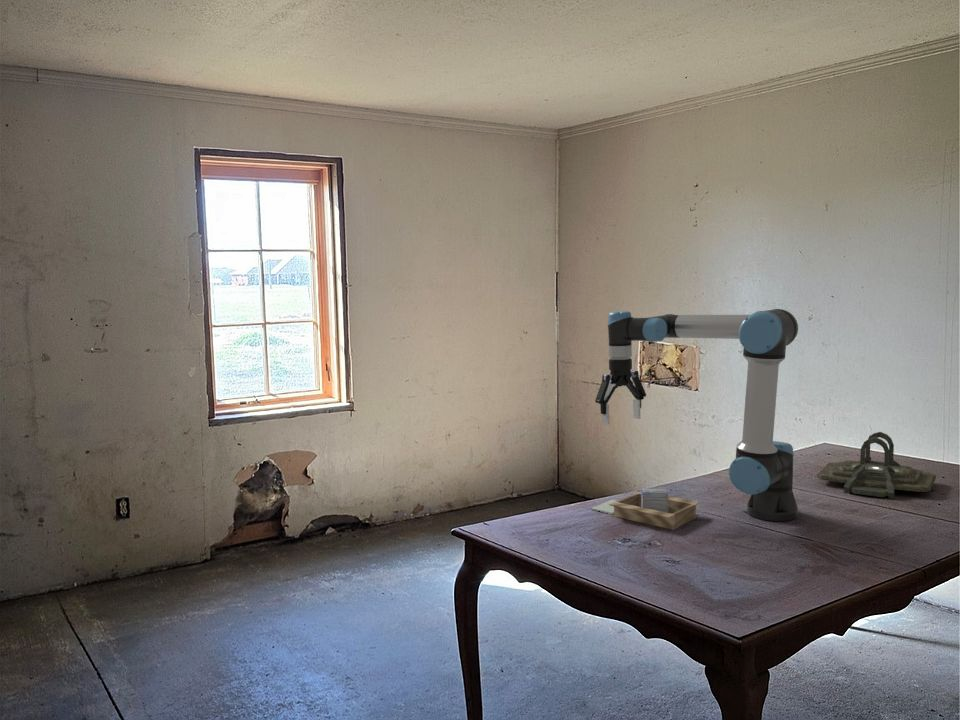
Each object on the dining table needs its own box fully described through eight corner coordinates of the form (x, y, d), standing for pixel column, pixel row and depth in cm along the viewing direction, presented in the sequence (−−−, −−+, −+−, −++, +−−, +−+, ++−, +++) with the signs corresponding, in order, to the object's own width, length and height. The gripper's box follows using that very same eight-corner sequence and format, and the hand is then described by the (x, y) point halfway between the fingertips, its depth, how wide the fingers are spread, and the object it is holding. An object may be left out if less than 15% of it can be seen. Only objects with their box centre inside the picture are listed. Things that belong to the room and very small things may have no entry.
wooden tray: (700, 516, 256) (700, 502, 255) (668, 531, 242) (668, 517, 242) (642, 503, 270) (642, 490, 270) (609, 518, 256) (609, 504, 256)
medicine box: (666, 515, 258) (666, 488, 257) (668, 519, 254) (668, 492, 252) (641, 515, 259) (641, 488, 258) (642, 519, 254) (642, 492, 253)
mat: (632, 505, 269) (632, 503, 269) (611, 514, 260) (611, 512, 260) (612, 501, 274) (612, 499, 274) (591, 509, 265) (591, 508, 265)
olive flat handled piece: (810, 491, 280) (811, 439, 278) (832, 468, 307) (833, 421, 305) (926, 506, 260) (928, 450, 258) (938, 480, 287) (940, 430, 285)
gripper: (640, 353, 280) (641, 414, 282) (583, 360, 267) (585, 424, 269) (656, 355, 273) (657, 417, 276) (598, 362, 261) (599, 427, 263)
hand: (621, 421), depth 273 cm, fingers open, 13 cm apart
